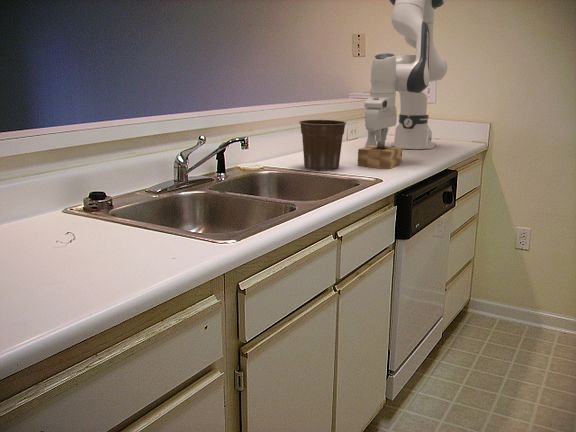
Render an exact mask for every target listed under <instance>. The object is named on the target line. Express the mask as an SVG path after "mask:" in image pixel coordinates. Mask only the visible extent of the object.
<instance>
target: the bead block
mask: <svg viewBox="0 0 576 432" xmlns="http://www.w3.org/2000/svg"><path fill="white" fill-rule="evenodd" d="M403 150H404V149H403V148H401V147H394V146H388V145H387V146H386V145H385V150H382V149H377V146H375V145H371V146H368V147H365V146H364V147H361V148H358V149H357V166H358V167H363V168H365V167H366V168H373V169H374V168H376V169H385V170H390V169H393V168H396V167H398V166H400V165H402V164H403Z"/></svg>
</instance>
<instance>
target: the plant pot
mask: <svg viewBox="0 0 576 432" xmlns="http://www.w3.org/2000/svg"><path fill="white" fill-rule="evenodd" d="M298 122H299V124H300V134H301V135H302V136H301V137H302V149H303V165H304V168H305V169H307V170H311V171H321V170H325V171H336V170H337V169H339V168H340V159H341V152H342V145H343V136H344V133H345V127H346V125H347V121H343V120H334V119H305V120H300V121H298Z"/></svg>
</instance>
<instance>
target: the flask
mask: <svg viewBox="0 0 576 432" xmlns="http://www.w3.org/2000/svg"><path fill="white" fill-rule="evenodd" d="M367 133H368V134H367V138H366V139H367V140H366V143H365V145H364V147H368V146H371V145H375V146H377V142H376V136H375V133H374V131H372V130H367Z"/></svg>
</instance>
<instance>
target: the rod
mask: <svg viewBox="0 0 576 432" xmlns="http://www.w3.org/2000/svg"><path fill="white" fill-rule="evenodd" d="M385 131H386V128H384V129H382V130H381V137H382V141H381V142H376V144H377V149H382V150H385V146H386V140H385Z"/></svg>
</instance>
